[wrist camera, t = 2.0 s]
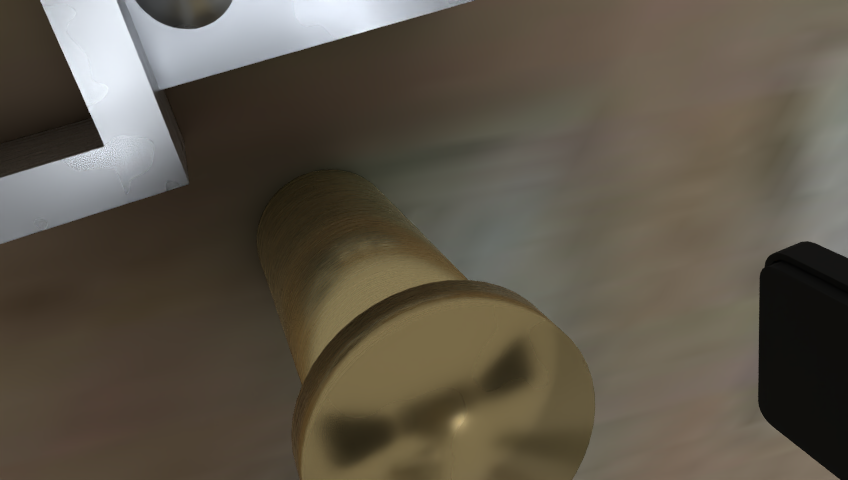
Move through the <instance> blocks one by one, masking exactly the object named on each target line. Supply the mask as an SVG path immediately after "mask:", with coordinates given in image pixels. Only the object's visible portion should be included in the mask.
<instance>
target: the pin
mask: <svg viewBox="0 0 848 480" xmlns="http://www.w3.org/2000/svg"><path fill="white" fill-rule="evenodd" d="M257 250H258V254H259V258H260V261H261V264H262V267H263V270H264V273H265V276H266V279H267V282H268V285H269V288H270V291H271V294H272V297H273V300H274V303H275V306H276V309H277V312H278V315H279V318H280V321H281V324H282V327H283V330H284V333H285V336H286V339H287V342H288V345H289V348H290V351H291V354H292V357H293V360H294V363H295V366H296V369H297V371H298V374H299V377H300V380H301V383H302V387H301V390H300V393H299V395H298V398H297V401H296V406H295V410H294V414H293V421H292V434H291V435H292V449H293V455H294V459H295V463H296V467H297V471H298V474H299V478H300V480H572V479H573V477H574V476H575V474H576V472H577V470H578V468H579V466H580V464H581V462H582V460H583V458H584V455H585V452H586V450H587V447H588V444H589V441H590V437H591V433H592V429H593V423H594V414H595V394H594V388H593V382H592V377H591V374H590V372H589V369H588V366H587V363H586V361H585V360H584V358H583V356H582V354H581V352H580V350H579V349H578V348H577V347H576V345H575V344H574V343H573V341H572V340H571V339H570V338H569V337H568V336H567V335H566V334H565V333H564V332H562V331H561V330H560V329H559V328H558V327H557V326H556V325H555V324H554V323H552V322H551V321H550V320H549V319H548V318H547V317H546V316H545V315H544V314H542V313H541V312H540V311H539V310H538V309H537V308H536V307H535V306H534V305H532V304H531V303H530V302H529V301H528V300H526V299H524V298H523V297H521V296H520V295H518V294H517V293H515V292H513V291H510V290H508V289H506V288H503V287H501V286H498V285H494V284H490V283H487V282H480V281H472V280H468V279H467V278H466V277H465V276H464V275H463V274H462V273H461V272H460V271H459V270H458V269H457V268H456V267H455V266H454V265H453V264H452V263H451V262H450V261H449V260H448V259H447V258H446V257H445V256H444V255H443V254H442V253H441V252H440V251H439V250H438V249H437V248H436V247H435V246H434V245H433V244H432V243H431V242H430V241H429V240H428V239H427V238H426V237H425V236H424V235H423V234H422V233H421V232H420V231H419V230H418V229H417V228H416V227H415V226H414V225H413V224H412V223H411V222H410V221H409V220H408V219H407V218H406V217H405V216H404V215H403V214H402V213H401V212H400V211H399V210H398V209H397V208H396V207H395V206H394V205H393V204H392V203H391V202H390V201H389V200H388V199H387V198H386V197H385V196H384V195H383V194H382V193H381V192H380V191H379V190H378V189H377V188H376V187H375V186H374V185H373V184H372V183H370V182H369V181H367V180H366V179H364V178H362V177H360V176H358V175H356V174H353V173H350V172H346V171H341V170H320V171H315V172H311V173H308V174H305V175H302V176H300V177H298V178H296V179H294V180H292V181H291V182H289V183H288V184H286V185H285V186H284V187H283V188H281V189H280V190H279V191H278V192H277V193H276V194H275V195H274V196H273V198H272V199H271V200H270V202H269V203H268V205H267V206H266V208H265V210H264V212H263V214H262V216H261V219H260V222H259V226H258V231H257Z"/></svg>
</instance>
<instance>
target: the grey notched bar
mask: <svg viewBox="0 0 848 480" xmlns="http://www.w3.org/2000/svg"><path fill="white" fill-rule="evenodd" d="M40 1H41V3H42V6H43V8H44V10H45V12H46V15H47V17H48V19H49V21H50V24H51V26H52V28H53V30H54V33H55V35H56V37H57V39H58V42H59V44H60V46H61V49H62V51H63V53H64V55H65V58H66V60H67V62H68V64H69V67H70V69H71V71H72V73H73V76H74V78H75V80H76V82H77V85H78V87H79V89H80V91H81V94H82V96H83V98H84V100H85V103H86V105H87V107H88V110H89V112H90V114H91V116H92V118H89V119H85V120H82V121H78V122H75V123H71V124H68V125H65V126H61V127H58V128H54V129H51V130H47V131H44V132H40V133H37V134H33V135H30V136H26V137H23V138H19V139H16V140H12V141H9V142H6V143H2V144H0V244H2V243H5V242H8V241H11V240H14V239H17V238H20V237H24V236H27V235H30V234H33V233H36V232H39V231H42V230H46V229H49V228H52V227H55V226H58V225H61V224H64V223H68V222H71V221H74V220H77V219H80V218H83V217H87V216H90V215H93V214H96V213H99V212H102V211H105V210H109V209H112V208H115V207H118V206H121V205H124V204H127V203H131V202H134V201H137V200H140V199H143V198H146V197H149V196H153V195H156V194H159V193H162V192H165V191H168V190H171V189H175V188H178V187H181V186H184V185H187V184H189V178H188V170H187V162H186V153H185V145H184V140H183V138H182V135H181V133H180V130H179V127H178V125H177V122H176V120H175V117H174V115H173V112H172V109H171V107H170V104H169V102H168V99H167V97H166V94H165V91H164V89H166V88H169V87H173V86H176V85H180V84H183V83H187V82H190V81H194V80H197V79H201V78H204V77H208V76H211V75H215V74H218V73H222V72H225V71H229V70H232V69H236V68H239V67H243V66H246V65H250V64H253V63H257V62H260V61H264V60H267V59H271V58H274V57H278V56H281V55H285V54H288V53H292V52H295V51H299V50H302V49H306V48H309V47H313V46H316V45H320V44H323V43H327V42H330V41H334V40H337V39H341V38H344V37H348V36H351V35H355V34H358V33H362V32H365V31H369V30H372V29H376V28H379V27H383V26H386V25H390V24H393V23H397V22H400V21H404V20H407V19H411V18H414V17H418V16H421V15H425V14H428V13H432V12H435V11H439V10H442V9H446V8H449V7H453V6H456V5H460V4H463V3H467V2H470V1H474V0H40Z"/></svg>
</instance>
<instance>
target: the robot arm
mask: <svg viewBox="0 0 848 480" xmlns="http://www.w3.org/2000/svg"><path fill="white" fill-rule="evenodd" d="M758 402H759V407H760V410H761V412H762V414H763V416H764V418H765V419H766V420H767V421H768V423H770V424H771V425H772V426H773V427H774V428H775V429H777V430H778V431H779V432H780V433H782V434H783V435H784V436H786V437H787V438H788V439H789V440H791V441H792V442H793V443H794V444H796V445H797V446H798V447H800V448H801V449H802V450H803V451H805V452H806V453H807V454H808V455H810V456H811V457H812V458H813V459H815V460H816V461H817V462H819V463H820V464H821V465H822V466H824V467H825V468H826V469H827V470H829V471H830V472H831V473H833V474H834V475H835V476H836V477H838V478H839V479H840V480H848V258H846V257H844V256H842V255H840V254H837V253H835V252H833V251H831V250H829V249H826V248H824V247H822V246H820V245H818V244H815V243H812V242H809V241H806V242H800V243H798V244H795V245H793V246H790V247H788V248H786V249H783V250H781V251H778V252H776V253H773V254H772V255H770V256H769V257H768V258H767V260H766V262H765V268H763V269H762V271H761V273H760V300H759V383H758Z"/></svg>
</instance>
